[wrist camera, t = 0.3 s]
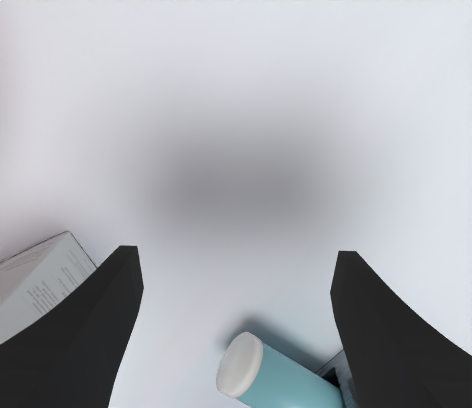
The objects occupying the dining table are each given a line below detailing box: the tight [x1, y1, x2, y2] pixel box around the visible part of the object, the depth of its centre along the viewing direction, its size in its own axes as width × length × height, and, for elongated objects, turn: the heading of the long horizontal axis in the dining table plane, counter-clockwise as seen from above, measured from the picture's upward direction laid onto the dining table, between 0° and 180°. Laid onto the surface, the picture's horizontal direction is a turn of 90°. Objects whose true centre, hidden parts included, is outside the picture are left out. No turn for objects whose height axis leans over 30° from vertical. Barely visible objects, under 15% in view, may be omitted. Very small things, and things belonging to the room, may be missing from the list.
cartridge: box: [216, 332, 346, 408], centre depth 27 cm, size 13×4×4 cm, turn 53°
